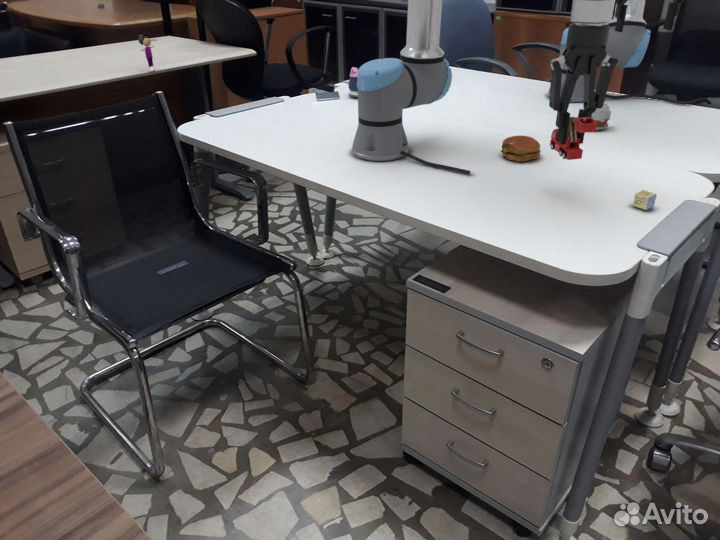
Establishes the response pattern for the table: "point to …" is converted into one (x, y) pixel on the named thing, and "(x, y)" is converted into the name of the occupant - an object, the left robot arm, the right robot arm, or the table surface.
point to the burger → (520, 148)
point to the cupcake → (602, 116)
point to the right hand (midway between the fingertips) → (642, 30)
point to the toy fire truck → (572, 137)
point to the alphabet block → (644, 200)
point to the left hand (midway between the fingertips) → (569, 141)
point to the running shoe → (353, 82)
